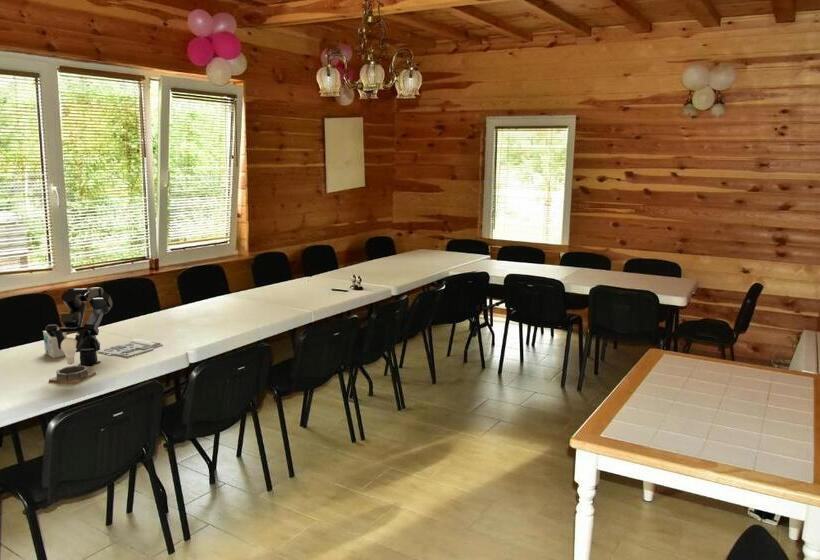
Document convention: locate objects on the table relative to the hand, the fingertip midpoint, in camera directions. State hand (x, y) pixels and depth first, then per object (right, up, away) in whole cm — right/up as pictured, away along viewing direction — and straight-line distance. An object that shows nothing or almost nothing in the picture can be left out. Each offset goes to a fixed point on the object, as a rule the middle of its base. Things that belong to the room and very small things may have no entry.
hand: (68, 348), depth 256 cm
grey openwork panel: (+7, -6, +43) cm, 44 cm away
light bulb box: (-24, -7, +36) cm, 44 cm away
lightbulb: (0, -7, +3) cm, 7 cm away
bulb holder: (0, -12, +4) cm, 13 cm away
